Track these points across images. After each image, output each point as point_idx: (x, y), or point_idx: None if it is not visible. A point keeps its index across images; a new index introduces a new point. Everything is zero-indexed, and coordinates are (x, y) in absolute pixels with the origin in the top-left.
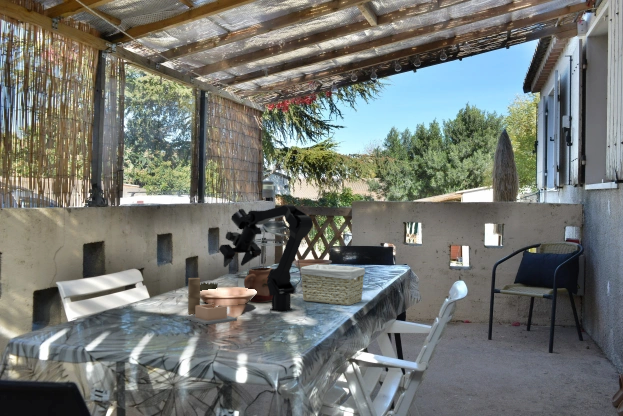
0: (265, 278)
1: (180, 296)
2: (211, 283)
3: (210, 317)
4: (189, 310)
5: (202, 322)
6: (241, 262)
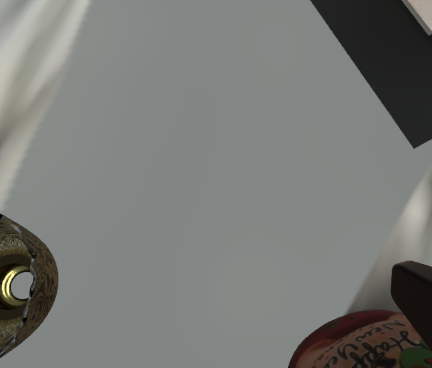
0: None
1: (12, 8)
2: (13, 228)
3: None
4: None
5: None
6: (427, 289)
